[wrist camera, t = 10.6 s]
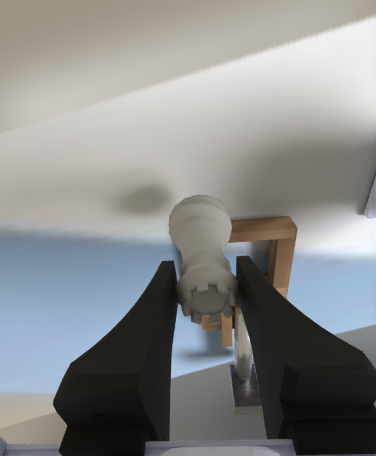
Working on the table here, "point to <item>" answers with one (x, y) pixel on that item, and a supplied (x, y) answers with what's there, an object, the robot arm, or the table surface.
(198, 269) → the rook chess piece
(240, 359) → the grey metal hammer
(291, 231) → the wooden frame
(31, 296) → the table surface
